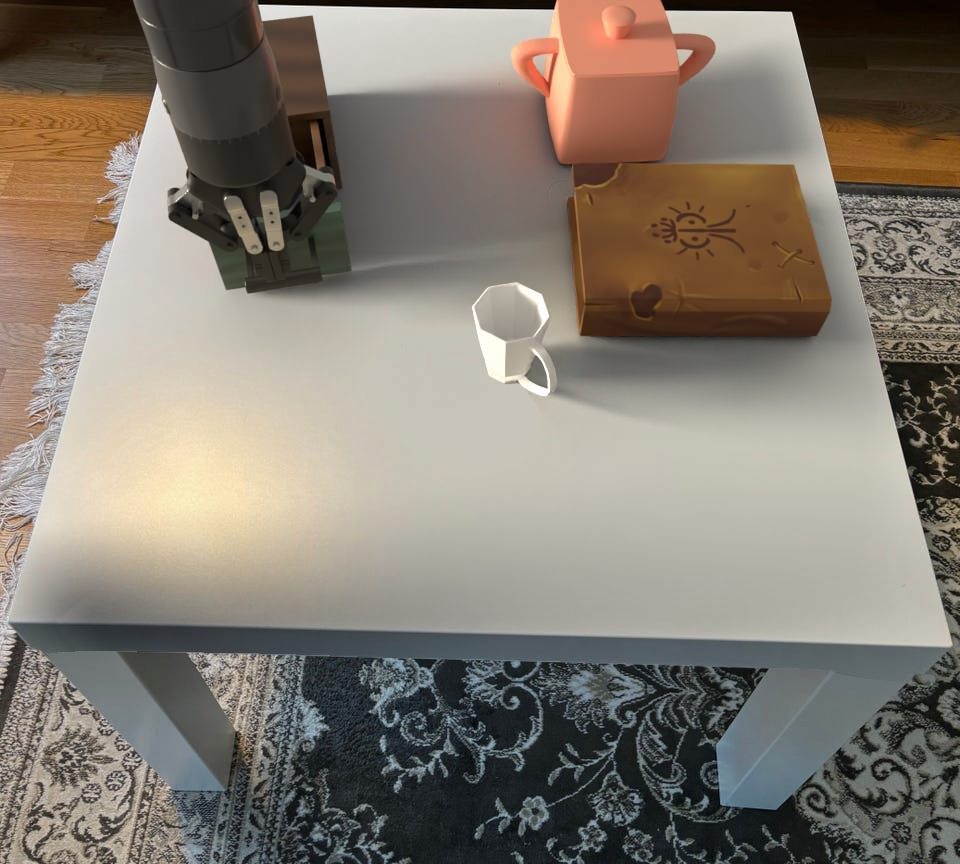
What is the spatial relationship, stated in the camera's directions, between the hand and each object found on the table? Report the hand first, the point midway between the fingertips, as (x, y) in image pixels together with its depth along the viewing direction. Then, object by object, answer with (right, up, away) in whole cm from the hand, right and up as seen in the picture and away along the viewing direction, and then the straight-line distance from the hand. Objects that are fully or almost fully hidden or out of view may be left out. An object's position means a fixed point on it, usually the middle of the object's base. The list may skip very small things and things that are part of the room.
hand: (275, 273), depth 73 cm
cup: (+21, -8, +11) cm, 25 cm away
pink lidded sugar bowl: (+31, +25, +31) cm, 50 cm away
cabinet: (-6, +19, +27) cm, 34 cm away
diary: (+38, +3, +18) cm, 42 cm away
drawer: (-3, +6, +18) cm, 19 cm away
